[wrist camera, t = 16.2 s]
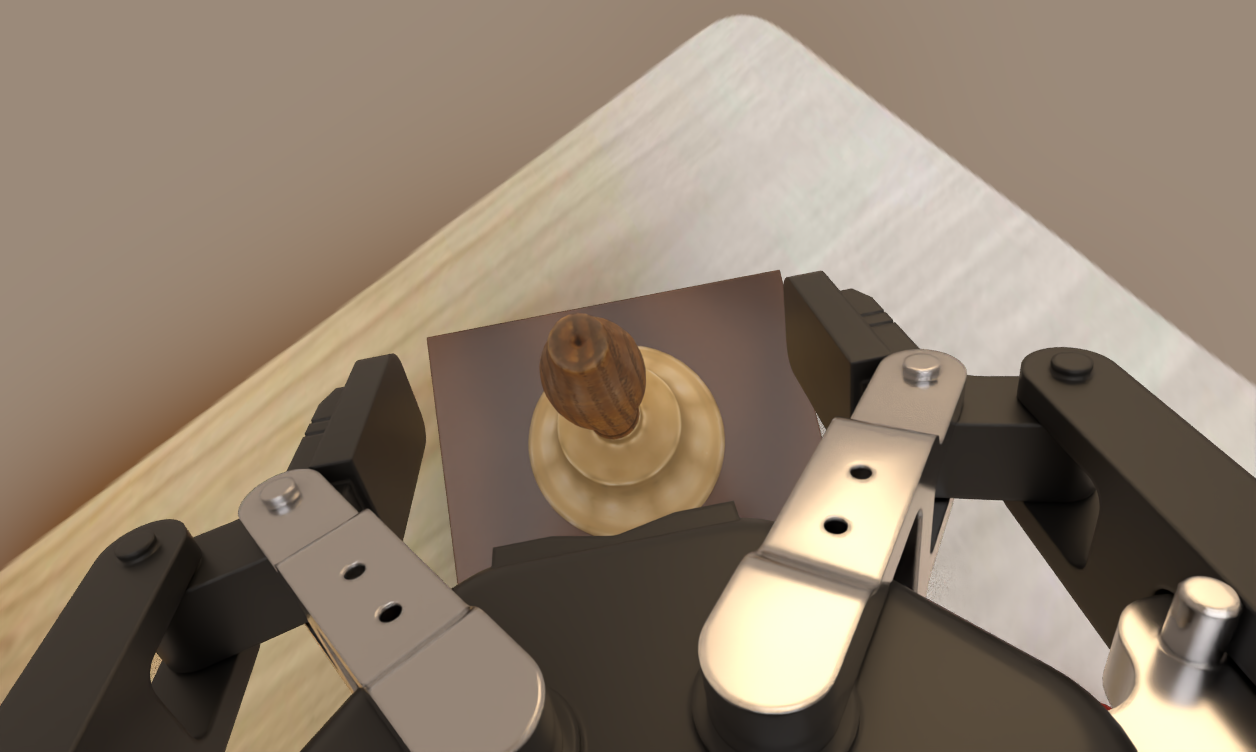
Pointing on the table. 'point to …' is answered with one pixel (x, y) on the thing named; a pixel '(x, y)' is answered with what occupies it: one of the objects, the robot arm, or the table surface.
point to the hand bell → (620, 429)
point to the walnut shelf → (668, 321)
